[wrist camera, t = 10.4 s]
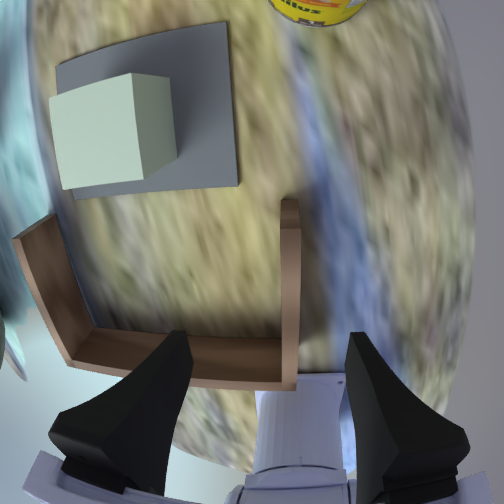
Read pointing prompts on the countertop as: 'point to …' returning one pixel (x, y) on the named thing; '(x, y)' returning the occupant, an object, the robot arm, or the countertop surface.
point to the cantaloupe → (2, 339)
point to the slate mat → (173, 104)
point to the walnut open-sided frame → (143, 344)
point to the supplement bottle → (317, 11)
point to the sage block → (113, 130)
